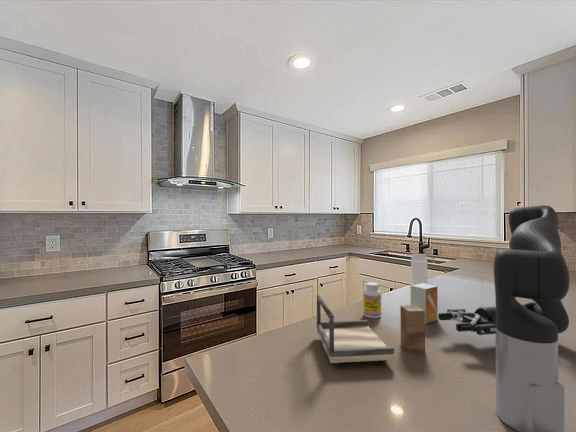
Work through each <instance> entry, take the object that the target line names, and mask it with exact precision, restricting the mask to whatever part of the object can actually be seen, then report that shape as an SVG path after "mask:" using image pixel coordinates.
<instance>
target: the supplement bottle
mask: <svg viewBox="0 0 576 432" xmlns="http://www.w3.org/2000/svg"><path fill="white" fill-rule="evenodd" d="M365 286H366V288H365V289H364V291H363V316H364V317H366V318H369V319H379V318H381V316H382V292H381V290H380V289H379V283H377V282H373V281H372V282H371V281H370V282H369V281H368V282H366V283H365Z"/></svg>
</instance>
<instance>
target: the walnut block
mask: <svg viewBox="0 0 576 432" xmlns="http://www.w3.org/2000/svg"><path fill="white" fill-rule="evenodd" d="M399 308H400V310H399V312H400V314H399V315H400V345H401V346H402V347H403V348H404V349H405V350H406V351H407V352H408V353H417V352H418V353H419V352H421V353H422V352H426V324H425V310H423V309H421V308H420V307H418V306H416V305H411V304H410V305H400V307H399Z"/></svg>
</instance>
